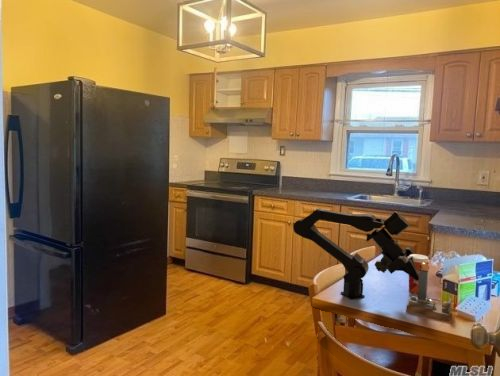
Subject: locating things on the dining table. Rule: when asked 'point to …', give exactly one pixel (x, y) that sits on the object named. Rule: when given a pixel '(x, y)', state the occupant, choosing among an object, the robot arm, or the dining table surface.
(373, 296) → the dining table surface
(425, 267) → the press handle
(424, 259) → the paper cup
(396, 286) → the dining table surface
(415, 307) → the press bench
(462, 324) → the dining table surface
